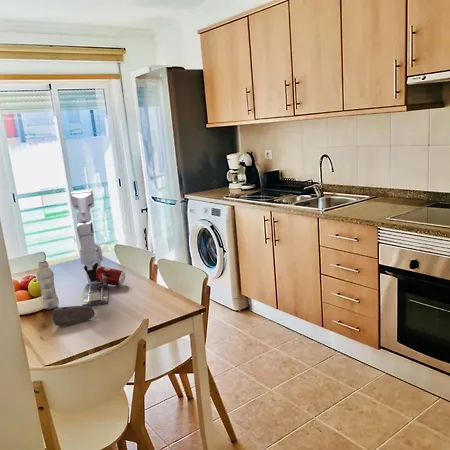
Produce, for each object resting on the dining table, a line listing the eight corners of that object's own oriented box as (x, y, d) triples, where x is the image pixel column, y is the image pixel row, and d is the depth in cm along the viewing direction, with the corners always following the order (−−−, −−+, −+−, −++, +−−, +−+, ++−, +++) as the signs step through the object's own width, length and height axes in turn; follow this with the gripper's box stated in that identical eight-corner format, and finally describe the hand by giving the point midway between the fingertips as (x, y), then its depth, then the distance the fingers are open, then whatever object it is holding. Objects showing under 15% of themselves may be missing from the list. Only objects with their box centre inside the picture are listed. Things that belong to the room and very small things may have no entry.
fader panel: (85, 289, 202) (85, 284, 202) (108, 285, 204) (107, 280, 204) (82, 308, 180) (82, 302, 180) (108, 303, 183) (107, 298, 182)
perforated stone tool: (95, 316, 171) (93, 300, 169) (95, 322, 166) (92, 305, 164) (55, 324, 167) (52, 307, 166) (53, 329, 162) (50, 312, 161)
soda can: (126, 275, 206) (102, 270, 207) (124, 268, 200) (99, 263, 201) (121, 289, 202) (96, 284, 203) (118, 282, 196) (93, 277, 197)
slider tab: (90, 298, 185) (89, 290, 184) (100, 297, 186) (98, 289, 185) (90, 301, 182) (88, 293, 181) (99, 299, 183) (98, 291, 182)
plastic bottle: (54, 311, 179) (45, 264, 175) (39, 311, 181) (30, 264, 176) (62, 304, 186) (54, 259, 181) (48, 304, 187) (40, 259, 182)
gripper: (98, 253, 179) (102, 285, 182) (98, 244, 193) (103, 274, 196) (79, 256, 177) (85, 288, 180) (82, 247, 191) (86, 276, 194)
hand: (93, 281), depth 188 cm, fingers closed
